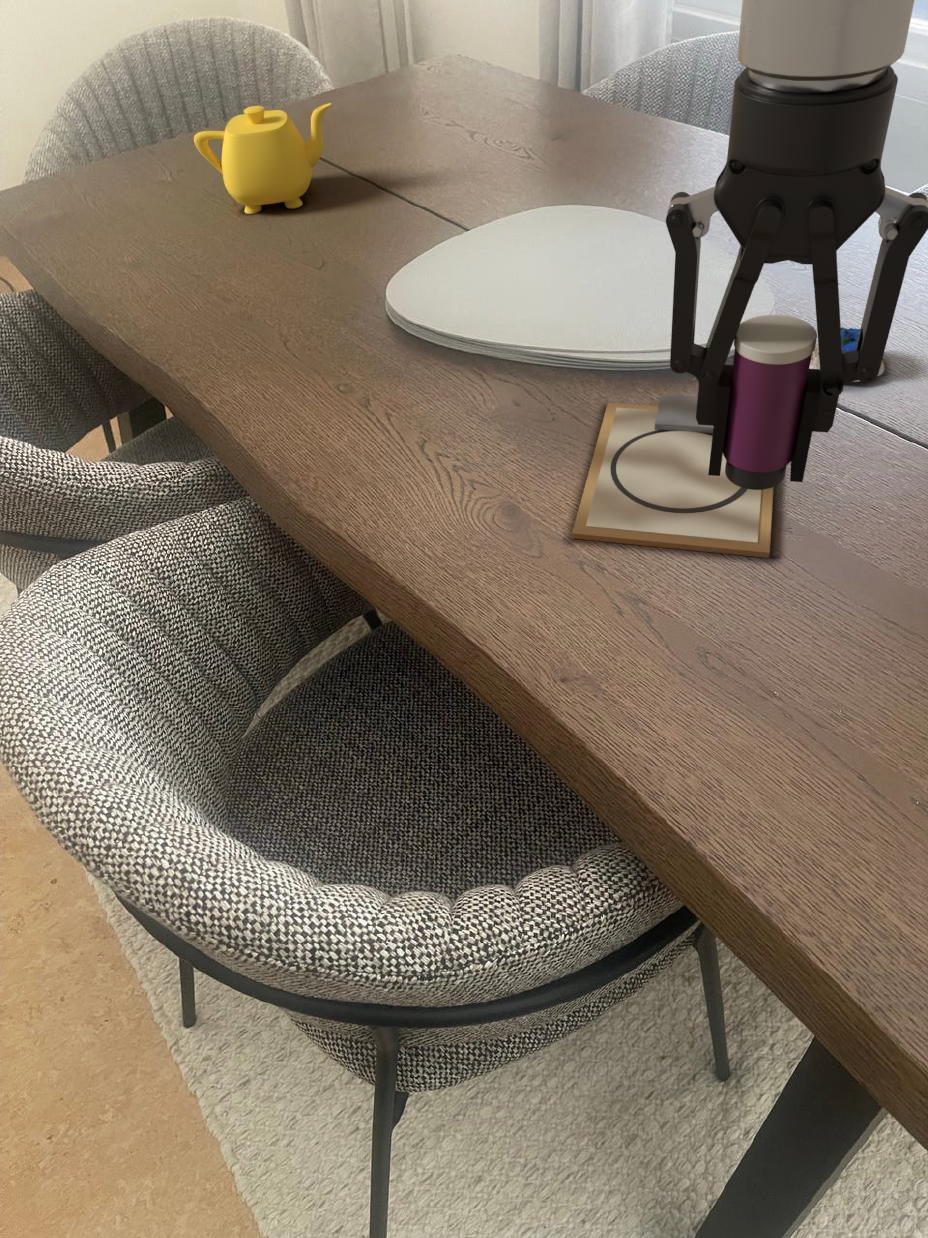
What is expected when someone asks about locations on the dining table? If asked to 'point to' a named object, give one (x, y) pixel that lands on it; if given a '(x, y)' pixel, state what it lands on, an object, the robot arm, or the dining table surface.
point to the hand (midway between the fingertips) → (755, 465)
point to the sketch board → (668, 486)
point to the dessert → (848, 344)
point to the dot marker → (766, 398)
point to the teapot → (265, 157)
